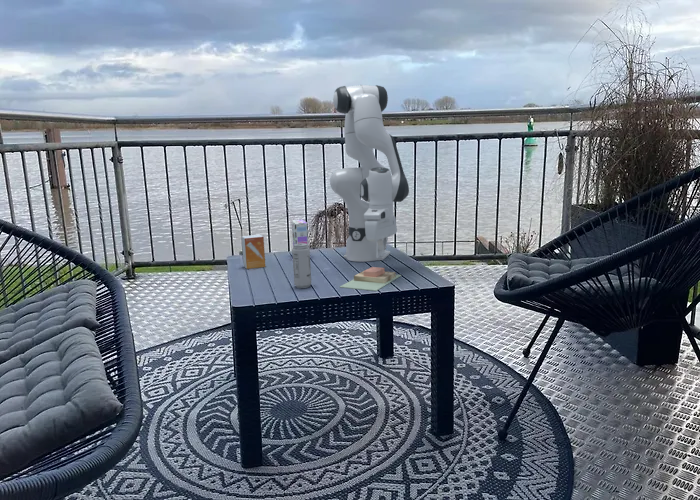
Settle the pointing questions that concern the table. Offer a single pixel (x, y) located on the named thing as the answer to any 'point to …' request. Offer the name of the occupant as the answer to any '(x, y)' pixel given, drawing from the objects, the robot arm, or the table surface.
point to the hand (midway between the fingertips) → (382, 249)
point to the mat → (366, 284)
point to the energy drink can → (301, 265)
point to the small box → (253, 251)
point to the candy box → (299, 232)
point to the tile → (374, 272)
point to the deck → (380, 279)
